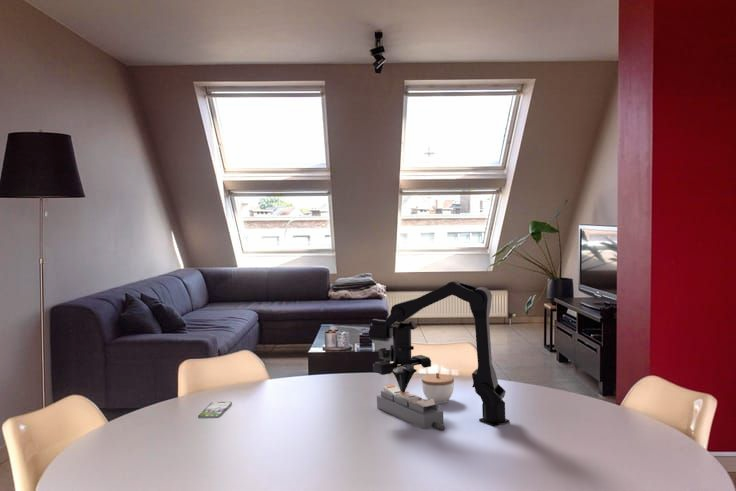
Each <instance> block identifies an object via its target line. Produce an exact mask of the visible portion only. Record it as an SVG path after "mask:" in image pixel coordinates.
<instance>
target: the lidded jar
mask: <svg viewBox="0 0 736 491" xmlns="http://www.w3.org/2000/svg"><path fill="white" fill-rule="evenodd" d="M454 382H455V378H454V377H453V376H452V375H449V374H443V373H441V374H440V373H439V372H436V373H435V374H434V373H433V374H428V375H424V376H422V377H421V385H422V386H421V387H422V392H423V394H424V396H425V399H434V403H436V404H438V405H439V404H446V403H447V402H448V401H449V399H450V398H452V396H453V394H454V385H455V383H454Z"/></svg>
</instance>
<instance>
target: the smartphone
mask: <svg viewBox="0 0 736 491" xmlns="http://www.w3.org/2000/svg"><path fill="white" fill-rule="evenodd" d="M231 406H233V402H232V401H213V402H210V403H209V404H208V405H207V406H206V407H205V408H204V410H202V411H201V413H200V414H199V415H197V418H198V419H217V418H221V417H222V416H223V415H224V413H226V412H227V411H228V409H230V407H231Z"/></svg>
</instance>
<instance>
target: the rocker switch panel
mask: <svg viewBox="0 0 736 491" xmlns="http://www.w3.org/2000/svg"><path fill="white" fill-rule="evenodd" d="M394 398H395V399H394ZM421 399H423V398H422V397H421V396H419V400H421ZM376 408H377V409H378V410H380V411H383V412H385V413H388V414H390V415H392V416H395V418H396V417H397V418H399V419H401V420H403V421H406V422H408V423H410V424H412V425H414V426H416V427H419V428H421V429H422V430H426V429H431V428H435V429H438V430H439V431H444V430H445V425H444V424H445V423H444V421H445V420H444V411H443V410H441V409H440V408H439V404H437V403H435V405H431V406H426V407H422V406H420V405H417V404H415V403H412V402H409V403H408V401H407V400H405V399H402V398H400V397H397V396H394V395H392V394H390V393H387V392H385V391H384V390H380V394H378V395H376Z"/></svg>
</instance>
